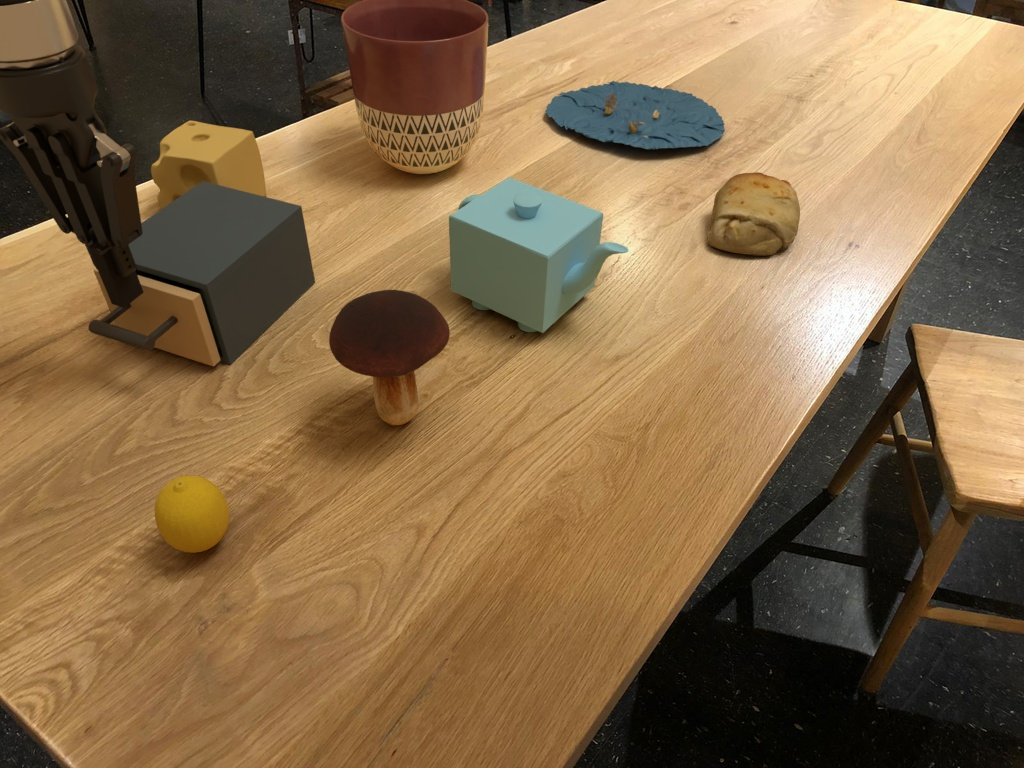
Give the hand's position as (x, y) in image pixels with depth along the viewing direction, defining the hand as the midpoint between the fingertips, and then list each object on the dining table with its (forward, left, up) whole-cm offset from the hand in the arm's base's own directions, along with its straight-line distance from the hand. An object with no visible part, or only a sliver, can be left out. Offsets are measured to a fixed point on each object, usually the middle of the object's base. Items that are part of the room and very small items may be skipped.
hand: (127, 298), depth 75 cm
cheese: (-15, +30, -10) cm, 35 cm away
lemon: (+19, -16, -10) cm, 27 cm away
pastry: (+54, +54, -10) cm, 77 cm away
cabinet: (0, +12, -10) cm, 15 cm away
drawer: (0, +7, -9) cm, 11 cm away
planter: (+5, +53, -10) cm, 54 cm away
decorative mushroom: (+27, +4, -10) cm, 29 cm away
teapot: (+33, +27, -10) cm, 44 cm away
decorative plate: (+30, +82, -10) cm, 88 cm away
